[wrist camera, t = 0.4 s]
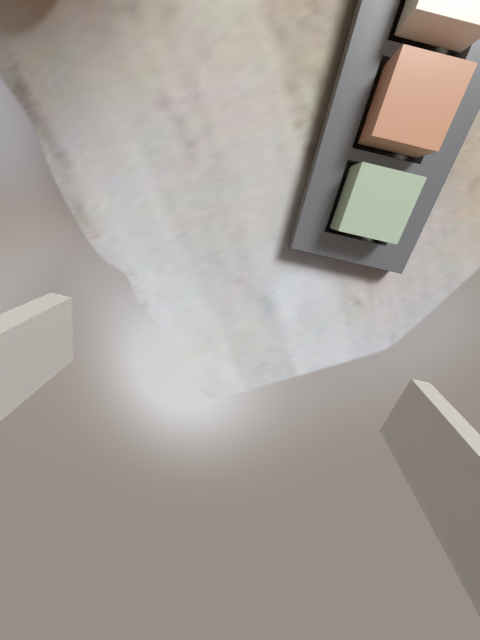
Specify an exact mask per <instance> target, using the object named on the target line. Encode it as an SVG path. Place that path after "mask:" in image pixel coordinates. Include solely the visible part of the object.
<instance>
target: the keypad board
mask: <svg viewBox="0 0 480 640" xmlns="http://www.w3.org/2000/svg"><path fill="white" fill-rule="evenodd" d="M399 3H400V0H358V2H357V5H356V9H355V12H354V16H353V19H352V23H351V27H350V30H349V34H348V37H347V41H346V44H345V48H344V51H343V55H342V58H341V62H340V66H339V69H338V73H337V76H336V80H335V83H334V87H333V90H332V94H331V98H330V101H329V105H328V108H327V112H326V115H325V119H324V122H323V126H322V130H321V133H320V137H319V140H318V144H317V147H316V151H315V154H314V158H313V162H312V165H311V169H310V172H309V176H308V179H307V183H306V186H305V190H304V194H303V197H302V201H301V204H300V208H299V211H298V215H297V218H296V222H295V226H294V229H293V233H292V236H291V240H290V243H289V246H290V247H291V249H296V250H300V251H305V252H309V253H313V254H318V255H322V256H326V257H331V258H335V259H339V260H344V261H348V262H352V263H357V264H361V265H365V266H370V267H374V268H378V269H383V270H387V271H392V272H396V273H400V274H402V272H403V270H404V268H405V266H406V263H407V261H408V259H409V257H410V255H411V253H412V251H413V249H414V246H415V244H416V242H417V240H418V238H419V236H420V234H421V232H422V230H423V227H424V225H425V223H426V221H427V219H428V217H429V215H430V213H431V210H432V208H433V206H434V204H435V202H436V200H437V198H438V196H439V193H440V191H441V189H442V187H443V185H444V183H445V181H446V179H447V176H448V174H449V172H450V170H451V168H452V166H453V164H454V162H455V159H456V157H457V155H458V153H459V151H460V149H461V147H462V145H463V143H464V140H465V138H466V136H467V134H468V132H469V130H470V128H471V126H472V123H473V121H474V119H475V117H476V115H477V113H478V111H479V109H480V39H478V40H477V41H476V42H474V43H473V44H472V45H470V46H469V47H468V48H466V49H465V50H464V51H462V52H461V53H460V52H456V51H455V54H454V56H453V57H457V58H461V59H465V60H469V61H472V62H476V63H478V64H477V66H476V68H475V71H474V73H473V75H472V77H471V80H470V82H469V84H468V86H467V89H466V91H465V93H464V95H463V98H462V100H461V102H460V104H459V107H458V109H457V111H456V113H455V116H454V118H453V120H452V122H451V125H450V127H449V129H448V131H447V134H446V136H445V138H444V140H443V143H442V145H441V147H440V149H439V152H436V153H432V154H429V155H425V156H421V157H418V158H415V157H412V158H411V161H410V162H409V161H405V160H401V159H396V158H392V157H388V156H384V155H380V154H376V153H372V152H368V151H363V150H359V149H355V148H352V146H353V143H354V140H355V137H356V134H357V131H358V128H359V125H360V122H361V119H362V116H363V113H364V110H365V106H366V103H367V100H368V97H369V94H370V91H371V88H372V85H373V82H374V79H375V76H376V73H377V70H381V71H382V70H383V67H384V65H385V64H386V63H387V61H388V60H389V59H390V58H391V57H392V56H393V55H394V54H395V53H396V52H397V51H398V49H399V48H400V47H401V46H402V45H403V44H402V43H398V42H394V41H390V40H387V39H388V36H389V33H390V30H391V27H392V24H393V21H394V18H395V15H396V12H397V9H398V6H399ZM361 162H366V163H370V164H374V165H378V166H382V167H387V168H391V169H395V170H399V171H403V172H407V173H411V174H416V175H420V176H424V177H427V179H426V181H425V183H424V186H423V188H422V190H421V192H420V195H419V197H418V199H417V201H416V204H415V206H414V208H413V210H412V213H411V215H410V217H409V219H408V222H407V224H406V226H405V228H404V231H403V233H402V235H401V237H400V240H399V242H398V244H392V243H388V242H384V241H379V240H378V241H377V243H375V242H370V241H366V240H362V239H358V238H353V237H349V236H345V235H340V234H336V233H332V232H327V231H325V228H326V225H327V222H328V219H329V216H330V213H331V210H332V207H333V204H334V201H335V198H336V195H337V192H338V189H339V186H340V183H341V180H342V177H343V174H344V170H345V167H346V164H348V165H352V166H353V165H355V164H358V163H361Z"/></svg>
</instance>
